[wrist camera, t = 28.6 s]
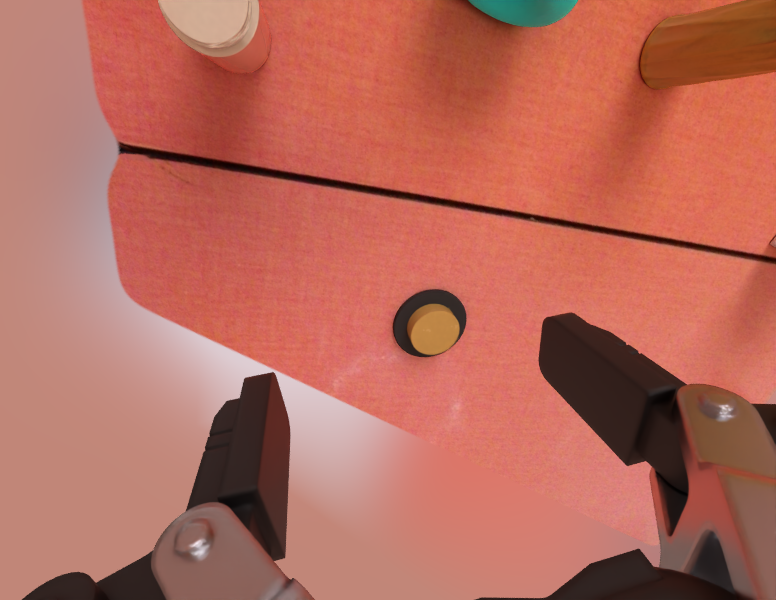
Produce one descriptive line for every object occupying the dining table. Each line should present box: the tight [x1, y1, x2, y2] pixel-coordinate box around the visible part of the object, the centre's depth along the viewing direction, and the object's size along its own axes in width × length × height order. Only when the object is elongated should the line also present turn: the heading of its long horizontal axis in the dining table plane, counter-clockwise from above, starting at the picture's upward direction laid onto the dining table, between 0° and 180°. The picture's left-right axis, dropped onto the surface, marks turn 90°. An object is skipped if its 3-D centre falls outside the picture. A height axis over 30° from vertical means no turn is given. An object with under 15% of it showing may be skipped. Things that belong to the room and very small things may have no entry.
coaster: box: [393, 290, 466, 357], centre depth 44 cm, size 9×9×1 cm
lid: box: [407, 304, 459, 355], centre depth 43 cm, size 6×6×2 cm
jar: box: [158, 0, 271, 74], centre depth 24 cm, size 5×5×11 cm
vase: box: [640, 0, 776, 89], centre depth 30 cm, size 6×6×14 cm
